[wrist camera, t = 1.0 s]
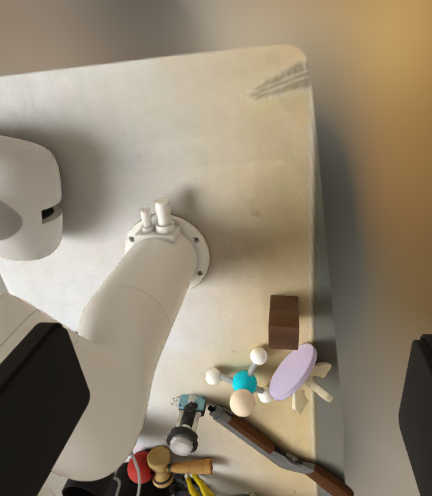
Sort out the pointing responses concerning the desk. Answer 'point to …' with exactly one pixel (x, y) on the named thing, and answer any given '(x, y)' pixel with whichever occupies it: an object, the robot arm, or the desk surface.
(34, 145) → the projector
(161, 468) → the kendama
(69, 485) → the glass holder
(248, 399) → the molecule model
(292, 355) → the toy table
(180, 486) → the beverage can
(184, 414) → the push button
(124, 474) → the black cooking pot
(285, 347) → the brown rectangular block
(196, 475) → the figurine
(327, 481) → the gun
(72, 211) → the desk surface
